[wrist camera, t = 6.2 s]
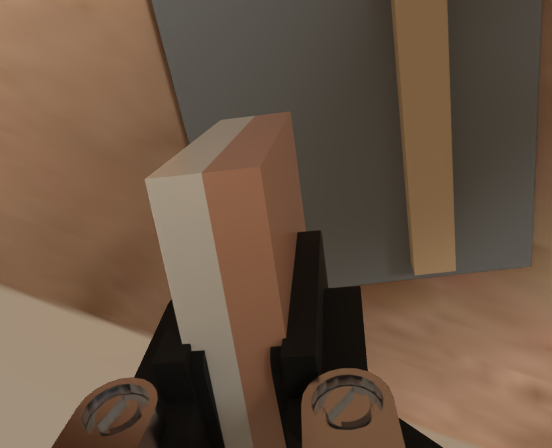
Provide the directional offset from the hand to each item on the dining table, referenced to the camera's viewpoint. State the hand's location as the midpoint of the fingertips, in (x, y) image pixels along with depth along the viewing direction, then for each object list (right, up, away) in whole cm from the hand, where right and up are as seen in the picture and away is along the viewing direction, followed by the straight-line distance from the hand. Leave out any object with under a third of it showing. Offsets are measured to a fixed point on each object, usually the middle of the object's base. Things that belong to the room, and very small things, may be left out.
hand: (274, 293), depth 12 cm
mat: (+4, +6, +13) cm, 15 cm away
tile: (0, 0, +1) cm, 1 cm away
